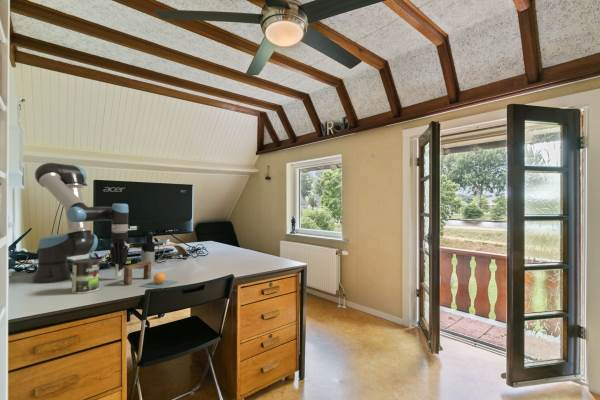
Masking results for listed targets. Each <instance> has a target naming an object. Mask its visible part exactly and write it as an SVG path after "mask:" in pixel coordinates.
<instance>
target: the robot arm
mask: <svg viewBox="0 0 600 400" xmlns="http://www.w3.org/2000/svg"><path fill="white" fill-rule="evenodd" d="M34 179H35V180H36V182H37V183H38V184H39V186H41V187H43V188H46V189H47V190H48V192H49V193H50V194H51V195H52V196H53V197H54V198H55V199H56V201H58V202H59V203H60V204H61V205H62V206H63V207H64V211H65V217H66V223H67V229H68V230H67V232H66V233H58V234H57V233H56V234H50V235H49V234H48V235H45V236H42V237H41V238H40V239H39V240H38V246H37V248H38V253H37V254H38V255H37V256H38V257H37V261H38V263H37V268H36V270H35V273H34V275H33V276H32V282H33V283H34V284H49V283H55V282H56V283H57V282H60V281H61V282H62V281H65V280H69V279H70V278H72V272H71V270H70V267H69V265H68V258H70V257H71V258H72V257H77V256H78V257H79V256H86V255H89V254H92V253H94V252H95V251H96V249H97V247H98V243H99V238H98V237H97V235H96V234H94V233H92V230H91V229H89V228H88V225H87V222H102V221H103V222H104V221H111V236H110V237H111V241H112V242H111V243H110V244H108V245H107V246H108V248H109V254H110V260H111V263H114V270H115V271H114V272H115V273H114V274H115V277H120V276H123V270H124V263H127V260H128V255H129V251H130V248H131V244H128V242H127V240H128V238H129V233H128V231H129V212H130V211H129V205H128V204H127V203H112V205H111V206H87V205H86V204H85V203H84V202H83V197H82V191H81V189H82V188H83V187H84V185H85V183H86V182H87V174H86V171H85V170H84V169H83V168H82V167H80V166H79V165H78V166H77V165H73V164H64V163H55V162H46V163H43V164H41V165H40V166H38V167H37V168H36V169H35V172H34Z"/></svg>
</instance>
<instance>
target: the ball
mask: <svg viewBox="0 0 600 400" xmlns="http://www.w3.org/2000/svg"><path fill="white" fill-rule="evenodd" d="M165 280H166V275H165V274H164V273H163V272H162V273H160V272H157V273H156V274H155V275H154V276H153V280H152V281H154V282H155V283H156V284H162V283H163V282H164V281H165Z"/></svg>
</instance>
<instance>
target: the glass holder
mask: <svg viewBox="0 0 600 400" xmlns="http://www.w3.org/2000/svg"><path fill="white" fill-rule="evenodd" d="M161 246H162V247H163V248H164V251H163V253H162V255H161V256H160V257H158V259H156V257H155V256H156V253H157V252H159V248H160V247H161ZM155 247H156V243H155V242H145V243H141V250H140V253H141V254H140V263H141V262H145V261H150V262H151V269H153V268H156V265H155V264H156V263H157V262H158V261H159V260H160V259H162V257H164V255H165V252H166V247H165V246H164V245H163V244H160V245H159V246H158V247H157V250H155ZM155 260H156V261H155ZM139 269H143V270H144V266H140V267H139Z"/></svg>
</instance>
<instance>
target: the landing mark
mask: <svg viewBox="0 0 600 400" xmlns="http://www.w3.org/2000/svg"><path fill="white" fill-rule="evenodd" d="M177 283H179V281H177V280H169V279H165V281H164V282H163V283H162V284H156V283H155V282H154V280H152V281H150V282H146V283H144V284H140V285H139V287H142V288H143V287H144V288H151V289H157V288H162V289H164V288H167V287H169V286H172V285H174V284H177Z"/></svg>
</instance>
